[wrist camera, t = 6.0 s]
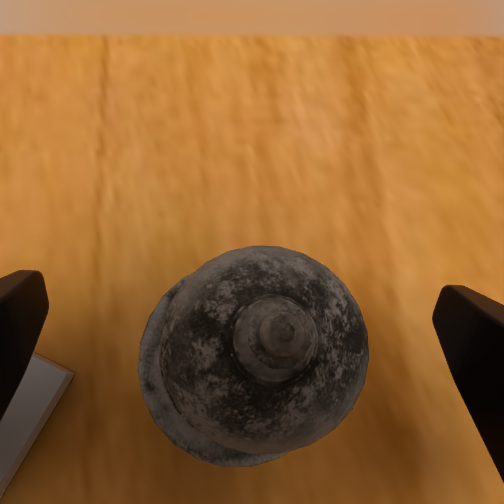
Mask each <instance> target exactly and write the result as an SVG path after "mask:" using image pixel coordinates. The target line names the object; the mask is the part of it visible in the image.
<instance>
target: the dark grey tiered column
mask: <svg viewBox="0 0 504 504" xmlns="http://www.w3.org/2000/svg"><path fill="white" fill-rule="evenodd" d="M368 361H369V349H368V336H367V329H366V326H365V323H364V320H363V317H362V314H361V311H360V308H359V306H358V304H357V303H356V301H355V299H354V298H353V296H352V295H351V293H350V292H349V290H348V288H347V287H346V285H345V284H344V283H343V282H342V281H341V280H340V279H339V278H338V277H337V276H336V275H335V274H334V273H332V272H331V271H330V270H329V269H328V268H327V267H326V266H325V265H323V264H321V263H319V262H318V261H316V260H314V259H312V258H311V257H309V256H307V255H305V254H303V253H300V252H296V251H293V250H289V249H286V248H282V247H277V246H250V247H245V248H241V249H236V250H232V251H228V252H226V253H224V254H222V255H220V256H218V257H216V258H214V259H212V260H210V261H208V262H206V263H205V264H204V265H202V266H201V267H200V268H199V269H198V270H197V271H196V272H194V273H192V274H190V275H188V276H186V277H184V278H183V279H181V280H180V281H179V282H178V283H177V284H176V285H175V286H174V287H172V288H171V289H170V290H169V291H168V292H167V293H166V294H165V295H164V296H163V297H162V299H161V300H160V302H159V303H158V305H157V306H156V308H155V309H154V311H153V312H152V314H151V315H150V317H149V319H148V322H147V325H146V328H145V330H144V333H143V336H142V339H141V342H140V352H139V364H138V373H139V378H140V384H141V390H142V395H143V399H144V401H145V403H146V405H147V407H148V409H149V411H150V413H151V415H152V418H153V420H154V422H155V423H156V425H157V426H158V427H159V428H160V429H161V430H162V431H163V433H164V434H165V435H166V436H167V437H168V438H169V439H170V441H171V442H172V443H173V444H174V445H176V446H178V447H179V448H181V449H182V450H184V451H185V452H187V453H188V454H190V455H192V456H193V457H195V458H196V459H199V460H202V461H206V462H209V463H213V464H216V465H220V466H223V467H247V466H255V465H258V464H261V463H265V462H268V461H271V460H274V459H278V458H280V457H281V456H283V455H284V454H286V453H287V452H289V451H291V450H295V449H298V448H301V447H305V446H308V445H311V444H312V443H314V442H316V441H317V440H319V439H320V438H322V437H323V436H325V435H326V434H328V433H330V432H331V431H333V430H334V429H335V428H336V427H337V426H338V425H339V423H340V422H341V421H342V420H343V419H344V418H345V417H346V415H347V414H348V413H349V412H350V411H351V410H352V409H353V406H354V404H355V402H356V400H357V398H358V396H359V394H360V392H361V390H362V388H363V386H364V383H365V377H366V372H367V366H368Z"/></svg>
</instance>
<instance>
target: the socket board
mask: <svg viewBox="0 0 504 504" xmlns="http://www.w3.org/2000/svg"><path fill="white" fill-rule="evenodd" d="M74 375H75V373H73V372H71V371H69V370H67V369H66V368H64V367H62V366H60V365H58V364H56V363H54V362H52V361H50V360H48V359H46V358H45V357H43V356H41V355H39V354H37V353H35V352H33V354H32V357H31V360H30V362H29V365H28V367H27V370H26V372H25V374H24V376H23V378H22V381H21V383H20V385H19V387H18V389H17V390H16V392H15V394H14V396H13V398H12V400H11V402H10V404H9V406H8V408H7V410H6V412H5V414H4V416H3V418H2V420H1V422H0V498H1V496H2V495H3V493H4V491H5V490H6V488H7V486H8V485H9V483H10V481H11V480H12V478H13V476H14V475H15V473H16V471H17V470H18V468H19V466H20V465H21V463H22V461H23V460H24V458H25V456H26V455H27V453H28V451H29V450H30V448H31V446H32V445H33V443H34V441H35V440H36V438H37V436H38V435H39V433H40V431H41V430H42V428H43V426H44V425H45V423H46V421H47V420H48V418H49V416H50V415H51V413H52V411H53V410H54V408H55V406H56V405H57V403H58V401H59V400H60V398H61V396H62V395H63V393H64V391H65V390H66V388H67V386H68V385H69V383H70V381H71V380H72V378H73V376H74Z"/></svg>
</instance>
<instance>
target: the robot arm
mask: <svg viewBox="0 0 504 504" xmlns="http://www.w3.org/2000/svg"><path fill="white" fill-rule="evenodd" d="M48 310H49V301H48V296H47V291H46V287H45V282H44V278H43V275H42V273H41V272H39V271H36V270H19V271H16V272H14V273H12V274H9V275H7V276H5V277H2V278H0V422H1V420H2V418H3V416H4V414H5V412H6V410H7V408H8V406H9V404H10V402H11V400H12V398H13V396H14V394H15V392H16V390H17V389H18V387H19V385H20V383H21V381H22V378H23V376H24V374H25V372H26V370H27V367H28V365H29V362H30V360H31V357H32V354H33V352H34V349H35V346H36V343H37V341H38V338H39V335H40V333H41V330H42V327H43V325H44V322H45V319H46V317H47V314H48ZM432 320H433V325H434V328H435V331H436V333H437V336H438V339H439V342H440V344H441V347H442V350H443V353H444V355H445V358H446V361H447V364H448V366H449V369H450V372H451V374H452V377H453V379H454V382H455V384H456V386H457V388H458V390H459V392H460V394H461V397H462V399H463V401H464V403H465V405H466V407H467V409H468V411H469V413H470V415H471V417H472V419H473V421H474V423H475V425H476V427H477V429H478V431H479V433H480V435H481V437H482V439H483V442H484V444H485V446H486V448H487V450H488V452H489V454H490V456H491V458H492V460H493V462H494V464H495V466H496V468H497V470H498V472H499V474H500V476H501V478H502V480H503V482H504V305H502V304H500V303H498V302H496V301H494V300H492V299H490V298H488V297H486V296H484V295H482V294H480V293H478V292H476V291H474V290H472V289H470V288H467V287H465V286H462V285H446V286H444V287H443V288H442V290H441V292H440V295H439V297H438V300H437V303H436V306H435V309H434V311H433V316H432Z"/></svg>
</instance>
